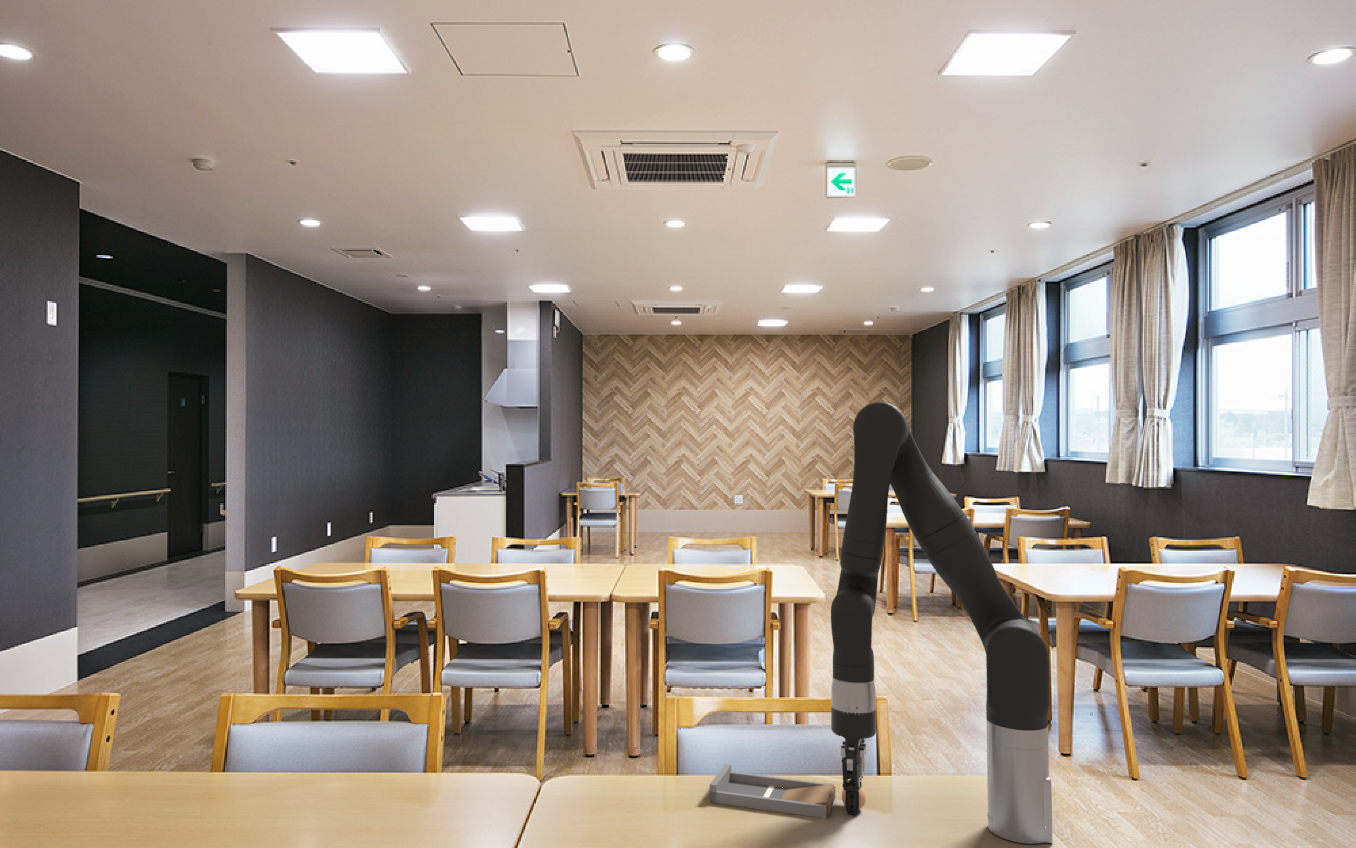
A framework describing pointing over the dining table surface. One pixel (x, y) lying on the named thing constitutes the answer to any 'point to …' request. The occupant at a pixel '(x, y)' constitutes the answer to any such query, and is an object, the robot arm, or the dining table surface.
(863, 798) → the ball
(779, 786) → the lane
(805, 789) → the ramp
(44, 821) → the dining table surface
